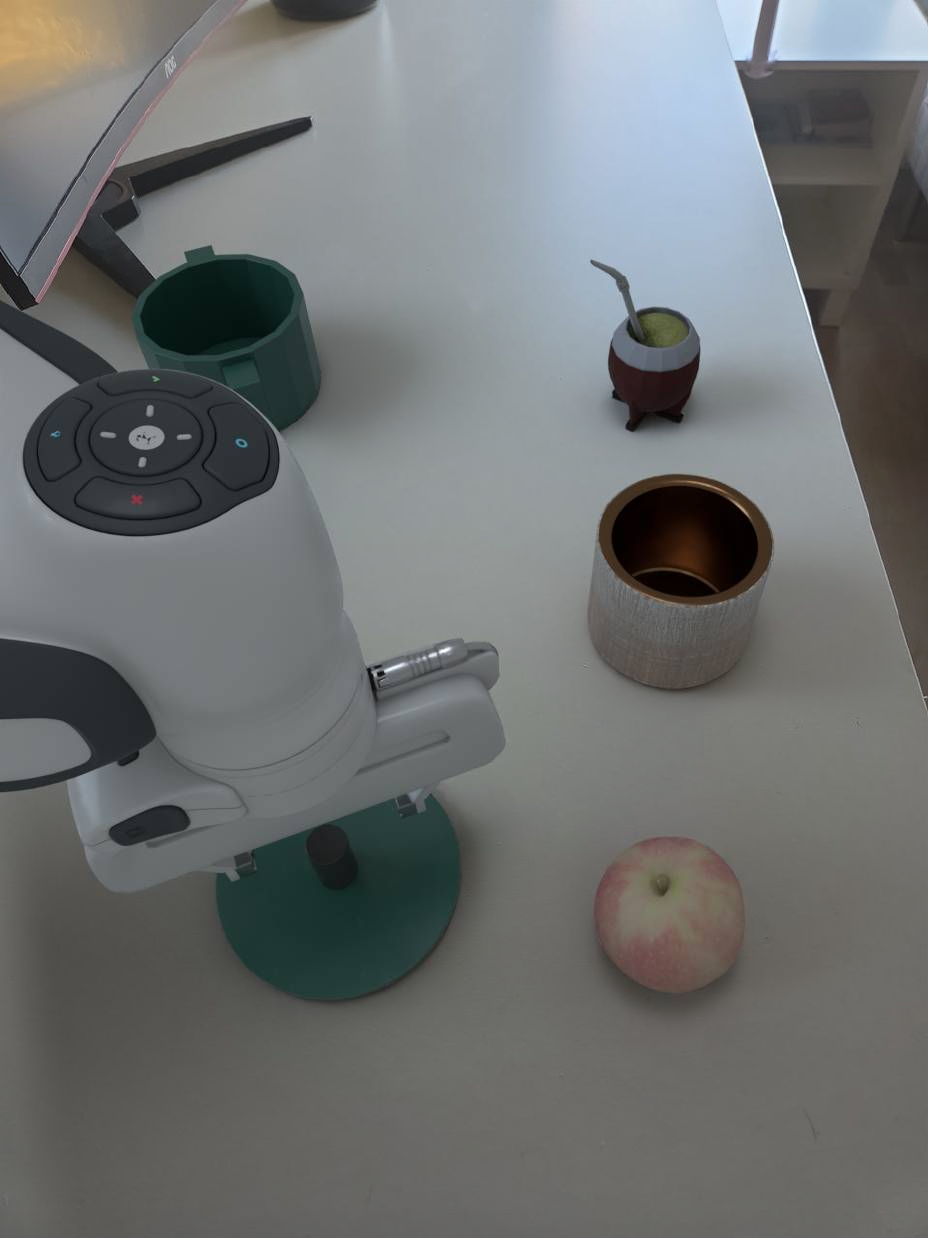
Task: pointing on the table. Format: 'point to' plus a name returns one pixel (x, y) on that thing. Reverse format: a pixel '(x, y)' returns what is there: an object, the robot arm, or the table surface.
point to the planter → (677, 579)
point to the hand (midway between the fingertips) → (327, 833)
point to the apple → (670, 914)
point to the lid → (345, 902)
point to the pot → (233, 330)
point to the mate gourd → (652, 358)
